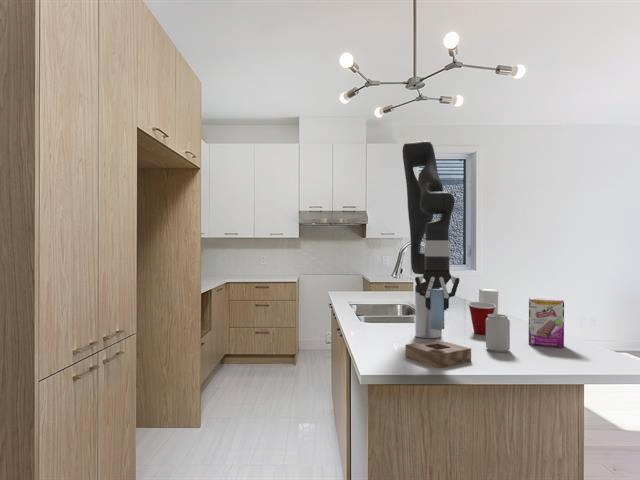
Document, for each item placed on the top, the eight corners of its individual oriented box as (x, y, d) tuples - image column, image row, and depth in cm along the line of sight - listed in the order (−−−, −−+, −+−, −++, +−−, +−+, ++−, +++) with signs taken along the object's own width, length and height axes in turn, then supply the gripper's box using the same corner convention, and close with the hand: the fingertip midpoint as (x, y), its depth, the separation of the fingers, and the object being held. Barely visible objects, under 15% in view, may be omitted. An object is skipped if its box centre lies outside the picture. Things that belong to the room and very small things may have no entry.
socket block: (437, 351, 142) (437, 339, 142) (471, 361, 130) (471, 348, 130) (405, 357, 135) (405, 344, 135) (438, 368, 123) (438, 354, 123)
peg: (437, 326, 135) (437, 288, 136) (447, 328, 132) (447, 290, 132) (426, 327, 133) (426, 289, 133) (437, 330, 129) (437, 290, 130)
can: (508, 348, 146) (508, 313, 146) (510, 353, 139) (510, 317, 139) (485, 346, 149) (485, 312, 149) (486, 352, 141) (486, 316, 142)
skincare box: (478, 322, 195) (478, 288, 196) (493, 322, 195) (492, 288, 195) (483, 325, 187) (483, 290, 187) (498, 325, 186) (498, 290, 187)
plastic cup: (475, 336, 165) (475, 305, 165) (463, 330, 176) (463, 301, 176) (501, 335, 166) (501, 305, 166) (488, 330, 177) (488, 301, 177)
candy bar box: (528, 345, 151) (528, 299, 151) (528, 342, 155) (528, 297, 156) (564, 348, 146) (564, 300, 146) (563, 345, 151) (563, 299, 151)
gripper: (460, 255, 135) (460, 309, 134) (414, 254, 138) (414, 307, 138) (461, 255, 127) (461, 312, 127) (413, 255, 131) (413, 310, 131)
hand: (436, 309), depth 133 cm, fingers closed on peg, 4 cm apart
